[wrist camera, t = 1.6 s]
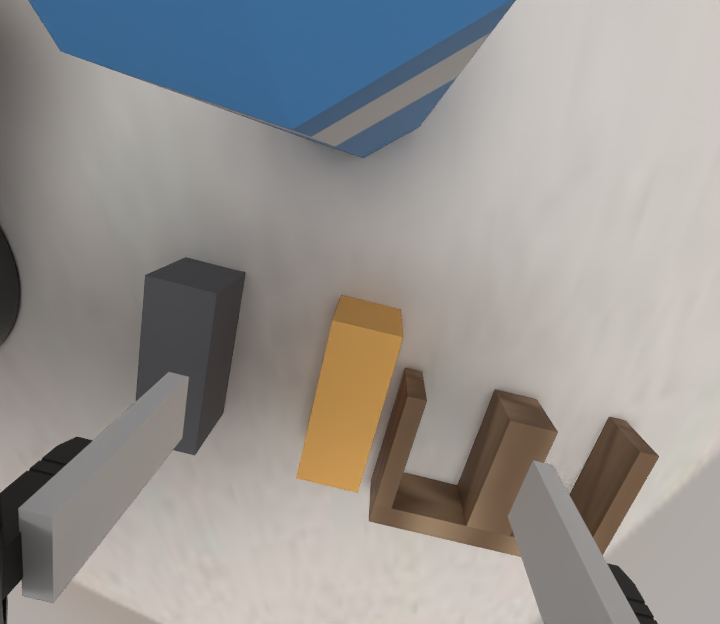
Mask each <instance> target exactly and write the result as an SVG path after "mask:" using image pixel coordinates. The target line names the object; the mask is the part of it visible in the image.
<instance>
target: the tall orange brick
mask: <svg viewBox="0 0 720 624" xmlns="http://www.w3.org/2000/svg"><path fill="white" fill-rule="evenodd" d="M402 340H403V330H402V319H401V309H396V308H392V307H388V306H384V305H380V304H376V303H372V302H368V301H364V300H360V299H356V298H352V297H347V296H343V295H341V298H340V301H339V303H338V306H337V309H336V312H335V314H334V317H333V320H332V324H331V328H330V333H329V337H328V342H327V346H326V350H325V355H324V359H323V363H322V368H321V372H320V377H319V381H318V385H317V390H316V394H315V398H314V403H313V407H312V412H311V416H310V420H309V425H308V429H307V433H306V438H305V442H304V447H303V451H302V455H301V460H300V464H299V468H298V473H297V477H296V478H298V479H302V480H306V481H310V482H315V483H319V484H323V485H327V486H331V487H336V488H340V489H344V490H348V491H353V492H357V493H358V490H359V486H360V483H361V480H362V476H363V473H364V469H365V466H366V462H367V459H368V456H369V452H370V449H371V445H372V442H373V439H374V435H375V432H376V428H377V425H378V422H379V418H380V415H381V411H382V408H383V405H384V401H385V398H386V394H387V391H388V388H389V384H390V381H391V377H392V374H393V371H394V367H395V364H396V360H397V357H398V353H399V350H400V347H401V343H402Z"/></svg>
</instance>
